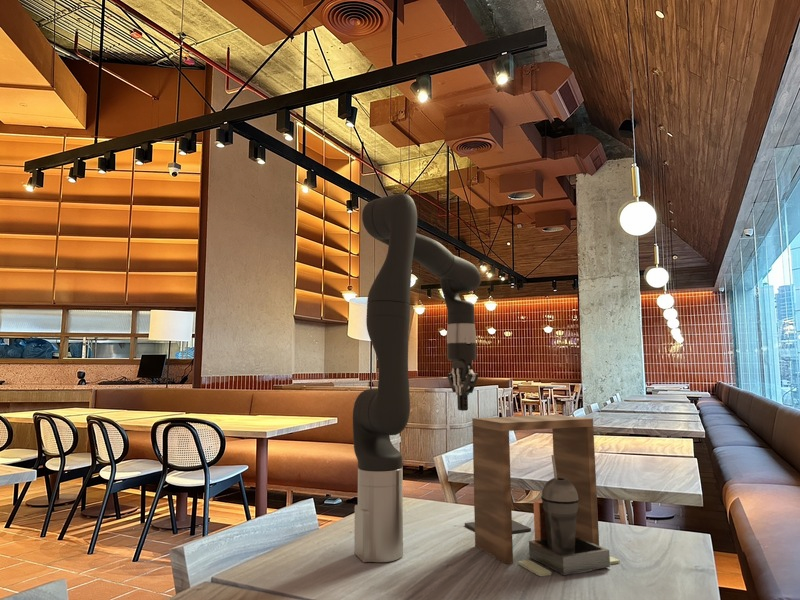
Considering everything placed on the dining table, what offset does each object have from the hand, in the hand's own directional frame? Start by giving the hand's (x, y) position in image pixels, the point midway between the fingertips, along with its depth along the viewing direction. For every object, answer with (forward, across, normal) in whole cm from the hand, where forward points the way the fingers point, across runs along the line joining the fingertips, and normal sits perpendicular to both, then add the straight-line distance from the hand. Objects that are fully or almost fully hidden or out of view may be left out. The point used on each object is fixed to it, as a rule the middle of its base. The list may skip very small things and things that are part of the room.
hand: (462, 410), depth 140 cm
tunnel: (+27, +24, +4) cm, 36 cm away
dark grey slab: (+27, +8, +4) cm, 29 cm away
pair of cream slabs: (+27, +34, +4) cm, 44 cm away
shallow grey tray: (+27, +33, +4) cm, 43 cm away
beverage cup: (+27, +32, +4) cm, 42 cm away
